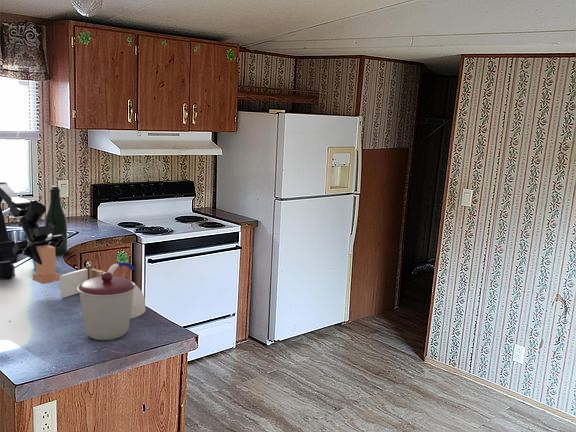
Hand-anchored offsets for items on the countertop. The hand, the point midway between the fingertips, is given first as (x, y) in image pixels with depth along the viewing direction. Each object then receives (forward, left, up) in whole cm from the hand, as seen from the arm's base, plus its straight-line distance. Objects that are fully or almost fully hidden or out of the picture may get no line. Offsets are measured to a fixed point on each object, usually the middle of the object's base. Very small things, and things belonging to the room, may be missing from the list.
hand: (47, 262), depth 218 cm
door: (+8, +4, -13) cm, 16 cm away
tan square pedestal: (-1, +1, -7) cm, 7 cm away
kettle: (+28, -14, -14) cm, 34 cm away
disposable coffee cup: (-15, +39, -14) cm, 44 cm away
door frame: (+10, +11, -13) cm, 20 cm away
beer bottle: (-16, +65, -14) cm, 68 cm away
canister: (+29, -36, -14) cm, 48 cm away
